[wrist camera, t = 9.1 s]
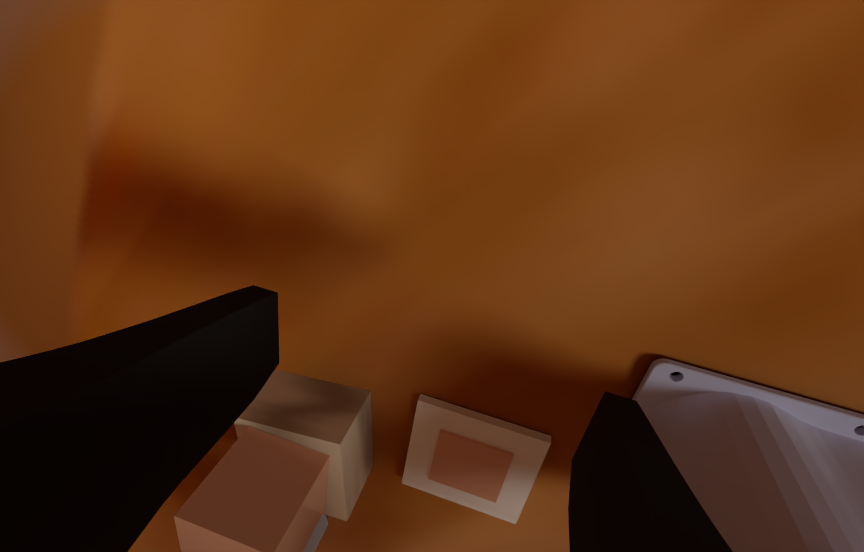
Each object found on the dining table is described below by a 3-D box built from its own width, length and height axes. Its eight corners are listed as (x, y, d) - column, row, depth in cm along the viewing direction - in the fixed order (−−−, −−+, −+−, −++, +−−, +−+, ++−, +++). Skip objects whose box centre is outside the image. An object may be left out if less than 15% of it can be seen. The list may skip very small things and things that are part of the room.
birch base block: (371, 389, 25) (340, 444, 21) (374, 462, 27) (347, 521, 24) (276, 367, 26) (232, 416, 22) (289, 439, 29) (251, 492, 25)
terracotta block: (324, 509, 24) (272, 609, 20) (251, 480, 25) (185, 572, 20) (329, 455, 22) (272, 556, 17) (248, 426, 22) (174, 515, 18)
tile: (551, 436, 22) (550, 446, 22) (516, 516, 26) (515, 527, 25) (420, 393, 23) (416, 402, 23) (404, 476, 27) (400, 486, 26)
